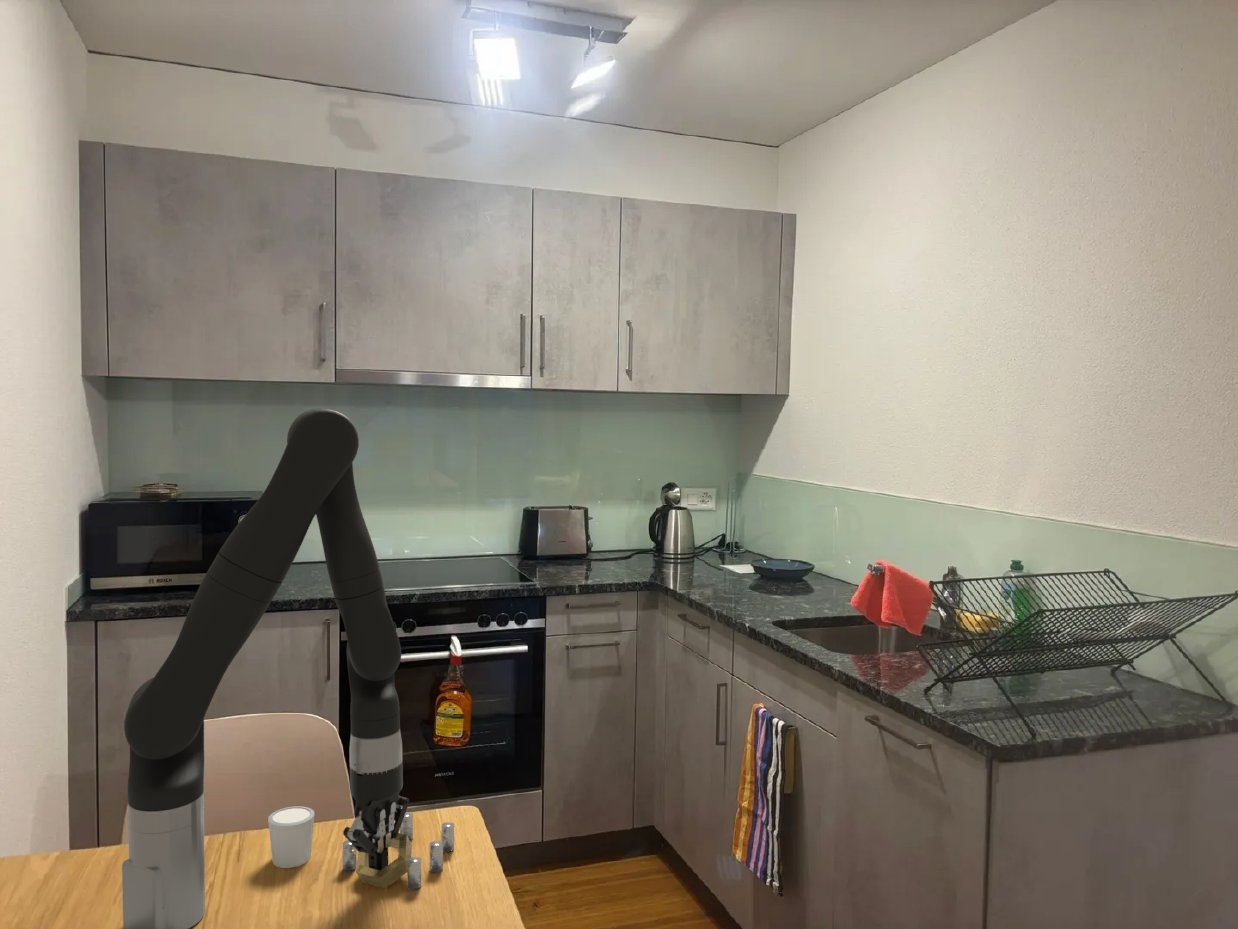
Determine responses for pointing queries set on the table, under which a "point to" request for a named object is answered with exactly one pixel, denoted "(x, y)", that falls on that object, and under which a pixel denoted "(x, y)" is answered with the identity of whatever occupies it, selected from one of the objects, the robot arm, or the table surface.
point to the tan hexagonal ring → (391, 870)
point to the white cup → (291, 836)
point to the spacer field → (413, 862)
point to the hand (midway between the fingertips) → (378, 873)
